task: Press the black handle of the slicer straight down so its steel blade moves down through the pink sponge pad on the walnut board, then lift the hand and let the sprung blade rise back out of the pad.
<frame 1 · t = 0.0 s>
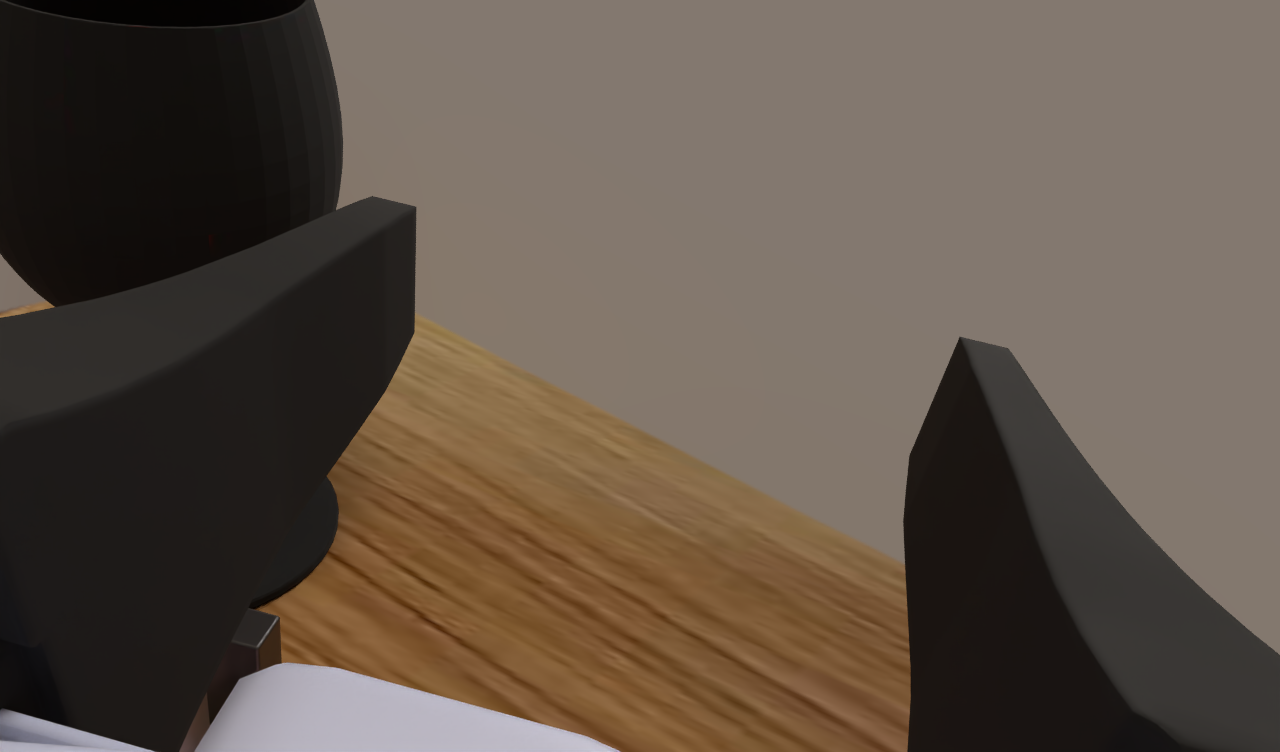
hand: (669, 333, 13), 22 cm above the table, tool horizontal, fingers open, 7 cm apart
wine glass: (198, 525, 39), on the table
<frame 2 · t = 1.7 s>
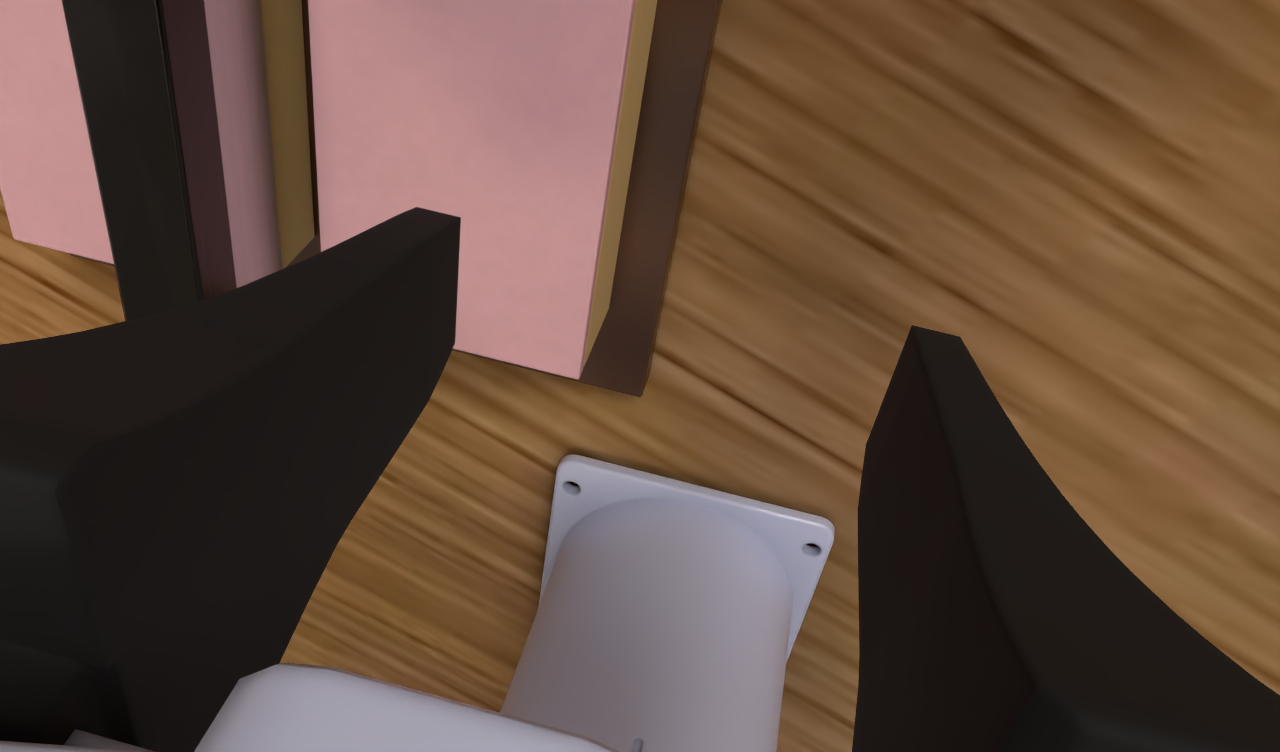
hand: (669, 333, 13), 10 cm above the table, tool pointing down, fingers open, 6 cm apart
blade: (198, 72, 17), point 6 cm above the table, slide at 0.0 cm
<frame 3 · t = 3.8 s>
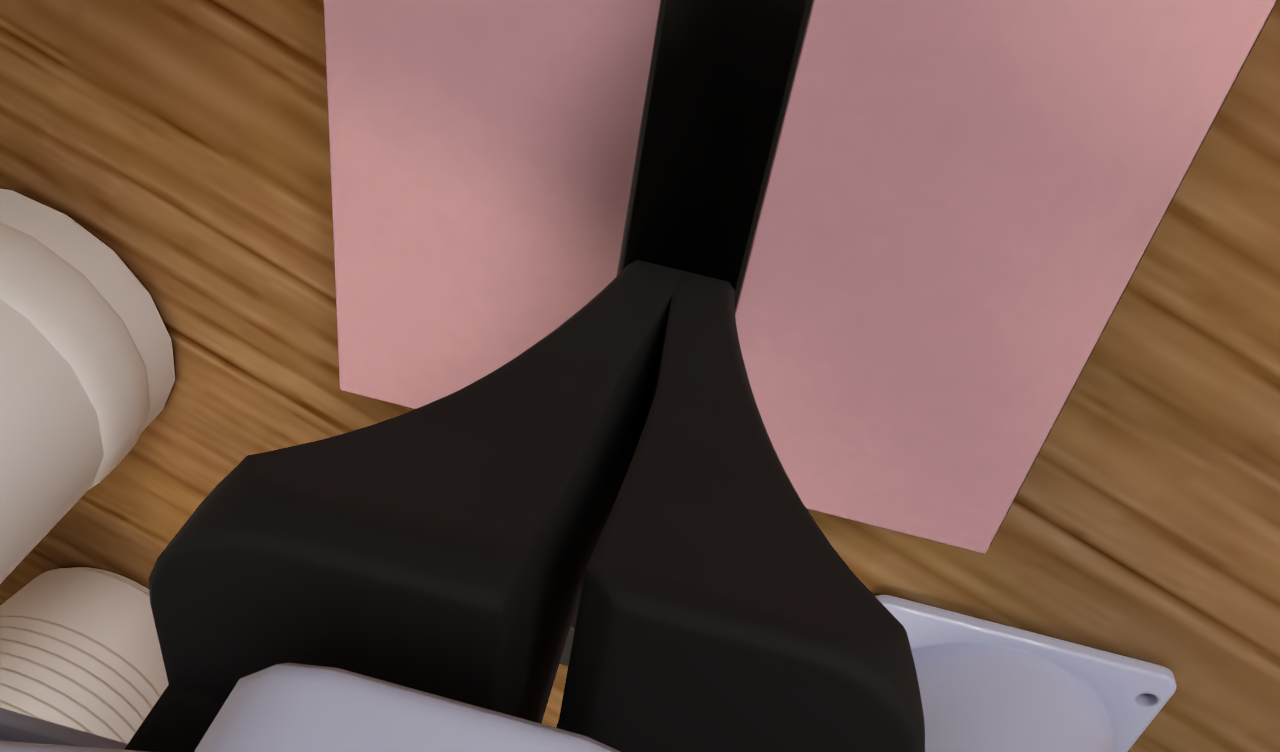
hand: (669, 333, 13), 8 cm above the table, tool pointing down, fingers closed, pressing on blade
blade: (691, 260, 15), point 6 cm above the table, slide at 0.0 cm, touching gripper
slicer: (744, 101, 20), on the table
cup: (124, 617, 35), on the table
pink sponge pad: (744, 101, 20), resting on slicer
bottle: (46, 310, 27), on the table
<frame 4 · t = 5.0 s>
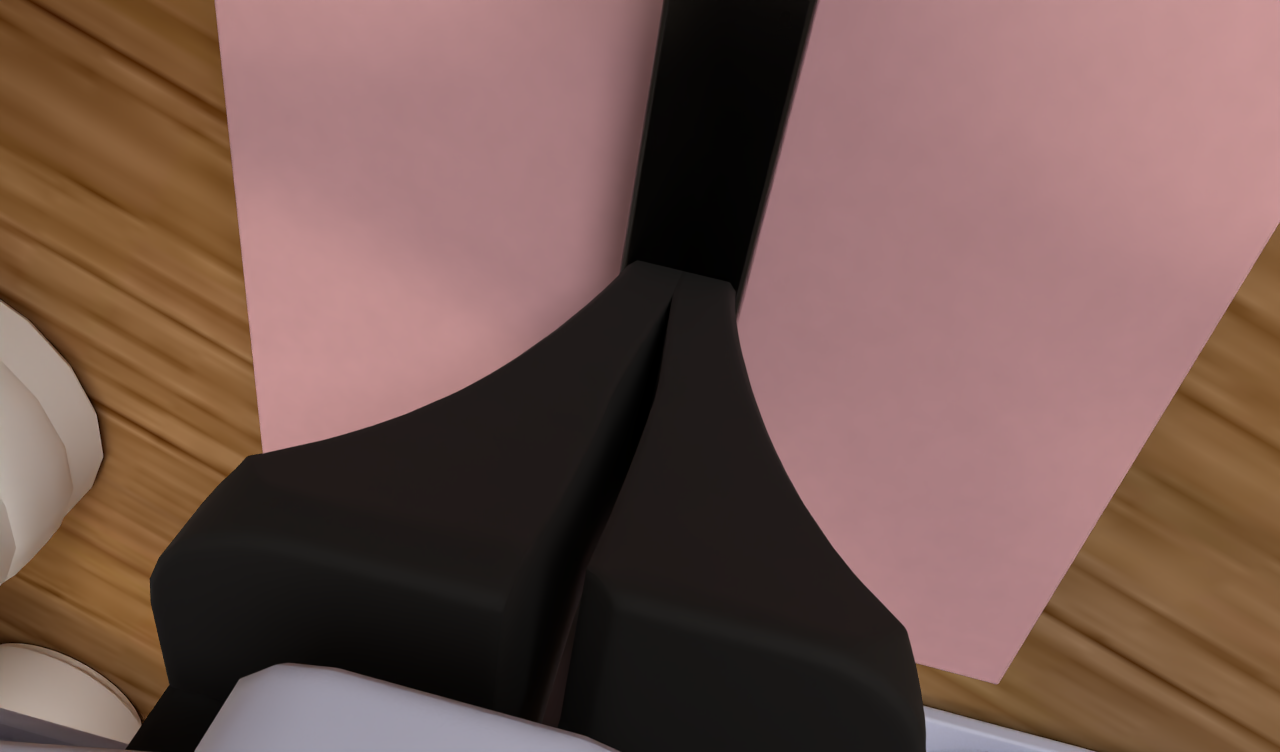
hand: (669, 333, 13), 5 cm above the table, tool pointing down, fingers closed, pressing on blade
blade: (693, 261, 15), point 3 cm above the table, slide at -3.1 cm, touching gripper
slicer: (723, 171, 17), on the table
cup: (66, 694, 33), on the table
pink sponge pad: (723, 171, 17), resting on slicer
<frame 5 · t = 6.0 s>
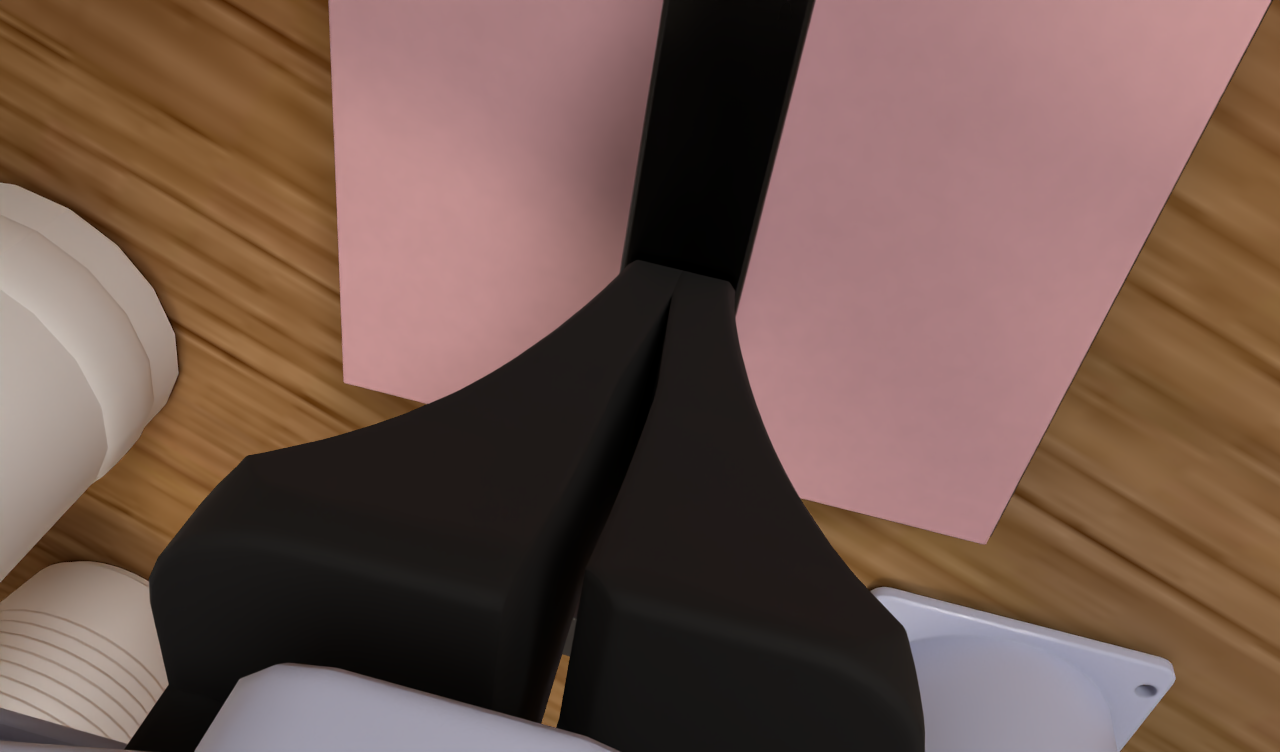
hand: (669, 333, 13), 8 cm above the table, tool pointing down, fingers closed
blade: (694, 253, 15), point 6 cm above the table, slide at 0.1 cm
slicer: (745, 95, 20), on the table
cup: (127, 612, 36), on the table
pink sponge pad: (745, 95, 20), resting on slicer
bottle: (50, 305, 28), on the table
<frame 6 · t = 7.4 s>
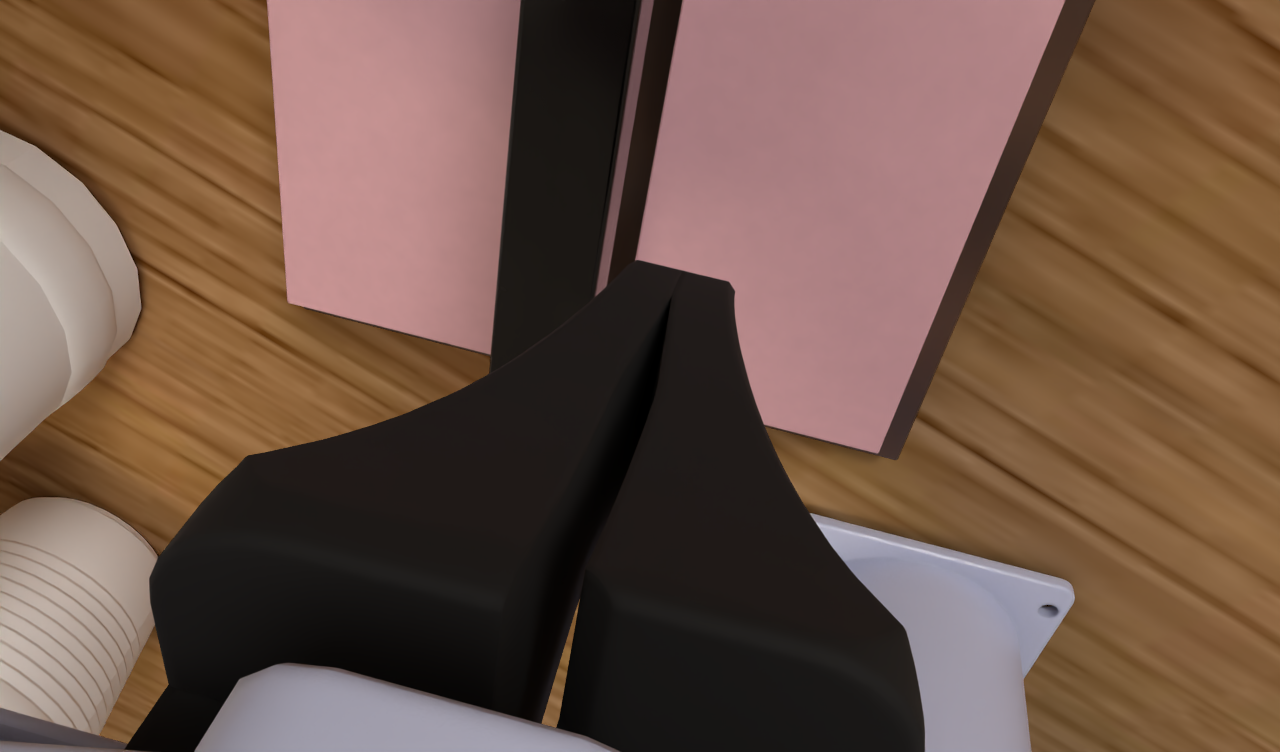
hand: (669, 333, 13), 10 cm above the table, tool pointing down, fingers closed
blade: (586, 160, 17), point 6 cm above the table, slide at 0.1 cm
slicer: (658, 35, 22), on the table
cup: (97, 548, 37), on the table
pink sponge pad: (658, 35, 22), resting on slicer
bottle: (20, 242, 29), on the table
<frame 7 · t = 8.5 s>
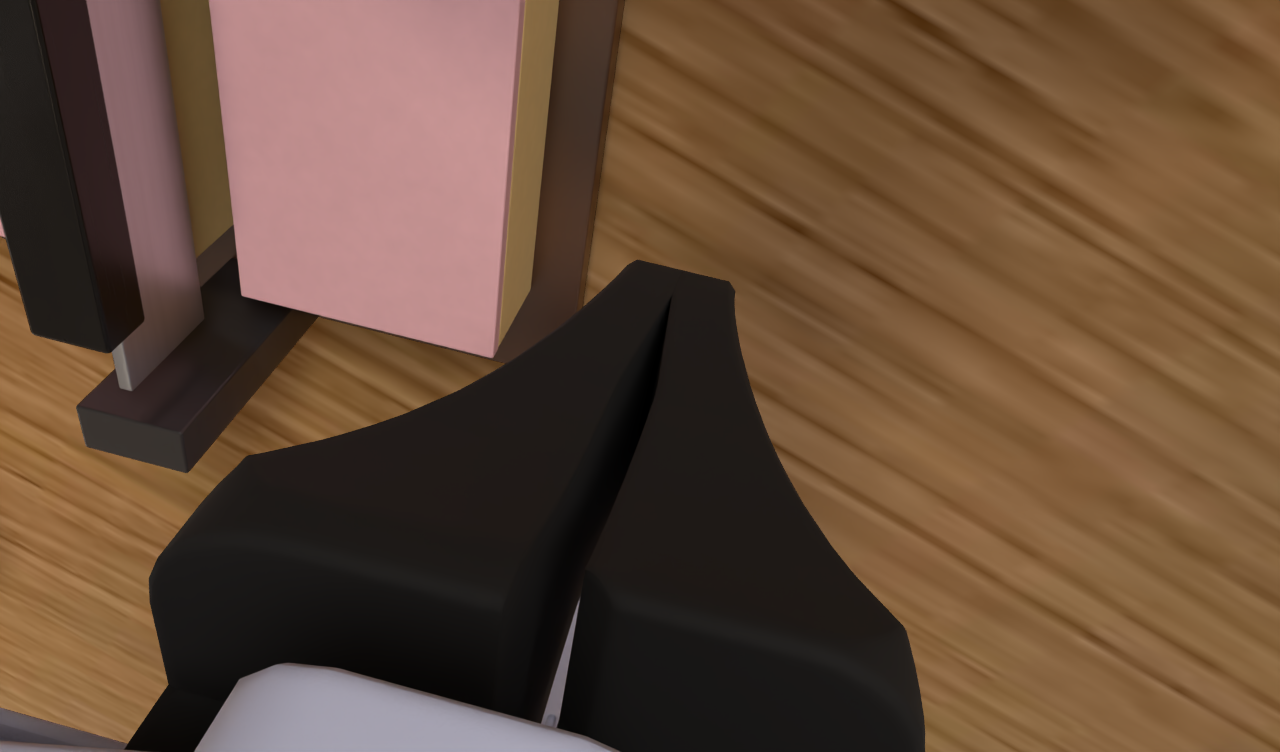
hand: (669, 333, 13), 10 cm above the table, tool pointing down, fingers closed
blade: (87, 47, 17), point 6 cm above the table, slide at 0.1 cm
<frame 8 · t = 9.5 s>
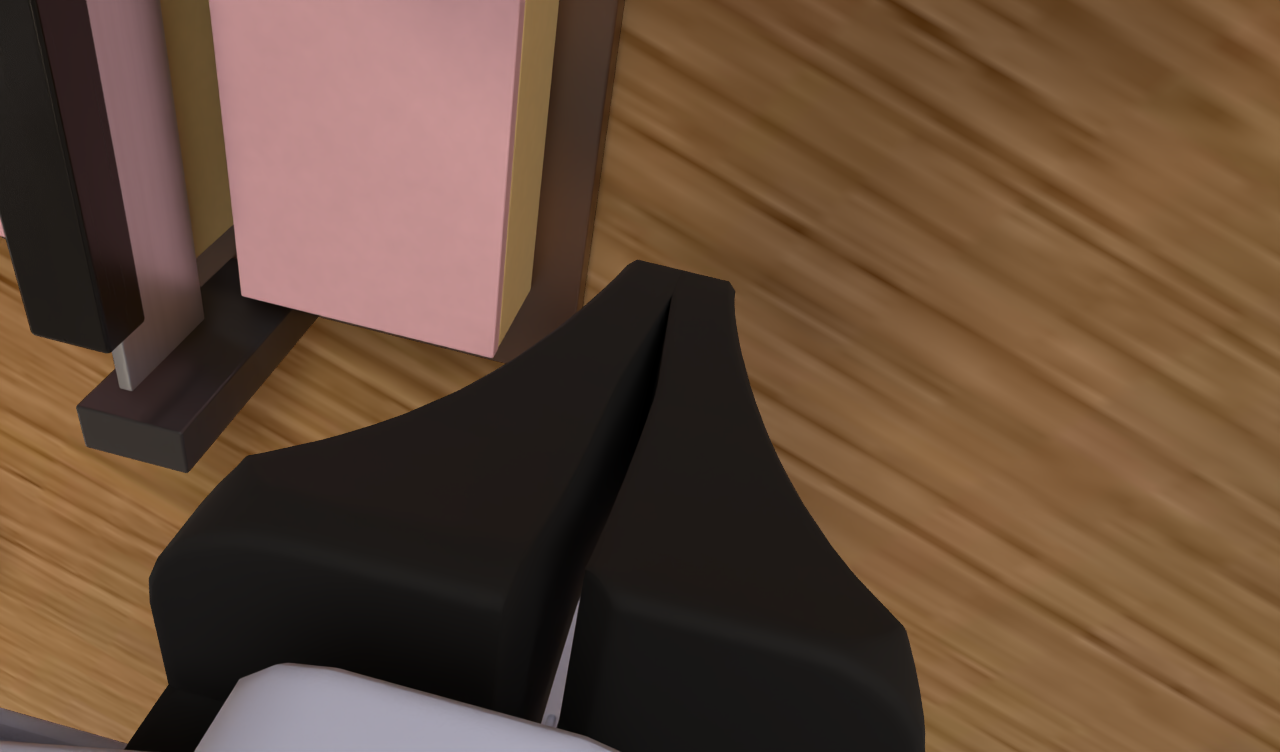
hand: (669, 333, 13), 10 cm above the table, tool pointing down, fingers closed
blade: (87, 47, 17), point 6 cm above the table, slide at 0.1 cm
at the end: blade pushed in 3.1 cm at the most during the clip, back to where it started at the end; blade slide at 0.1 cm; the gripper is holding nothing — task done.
